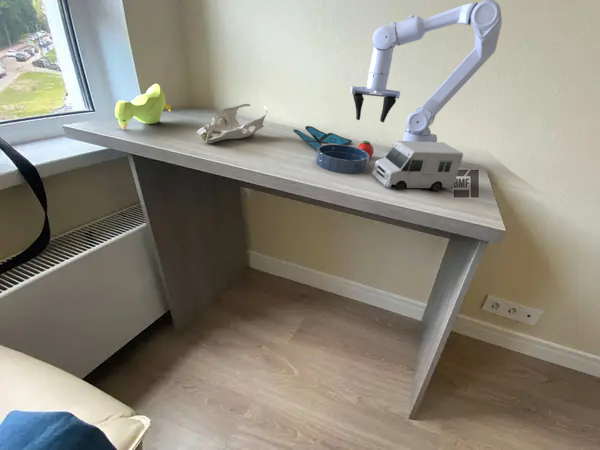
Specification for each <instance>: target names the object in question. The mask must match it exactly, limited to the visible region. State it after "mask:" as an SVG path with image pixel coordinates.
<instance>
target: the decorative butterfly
mask: <svg viewBox="0 0 600 450" xmlns="http://www.w3.org/2000/svg"><path fill="white" fill-rule="evenodd" d="M305 130H306V131H307V132H308V133H309V134H310V135H311V136H312V137H311V136H309V135H308V134H306V133H305V132H303V131H300V130H298V129H295V128H294V129H293V133H294V134H296V135H297V136H298V137H299V138H301V140H302V141H304V142H307V144H308V145H310V146H311V147H312V148H313V149H314V150H315V151H316V152H317V148H318V147H319V146H322V145H323V144H325V145H327V144H340V145H347V146H350V145H351V144H352V143H353V140H352V139H349V138H346V137H342V136H341V135H338V134H335V133H333V132H327V133H326V132H323V131H321V130H319V129H317V128H316V127H314V126H311V125H307V126H305Z"/></svg>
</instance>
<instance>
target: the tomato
mask: <svg viewBox="0 0 600 450" xmlns="http://www.w3.org/2000/svg"><path fill="white" fill-rule="evenodd" d="M356 148H359V149H362V150H364V151H366V152H367V153H368V154H369V159H371V158H372V157H373V155H374V153H375V152H374V147H373V144H371V141H368V140H363V141H362V142H360V143H359V144H358V145H357V147H356Z"/></svg>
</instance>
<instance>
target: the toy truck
mask: <svg viewBox="0 0 600 450" xmlns="http://www.w3.org/2000/svg"><path fill="white" fill-rule="evenodd" d="M463 156H464V152H462V151H460V150H458V149H456V148H454V147H453V146H450V145H449V144H447V143H445V142H444V141H443V142H441V141H440V142H439V141H437V142H416V141H403V140H397V141H395V143H393V145H392V147H391V148H390V150H389V151H388V152H387V153H386V155H385V156H384V157H382V158H379V159H377V160H375V164H374V168H373V170H372V173H371V174H372V175H373V176H374V177H375V178H376V179H377V180H378V181H379V182H380V183H381V184H382V185H383V186H384V187H386V188H391V187H392V185H394V186H393V188H394V189H395V190H397V191H403V190H404V189H405V188H406V189H430V190H431V191H432V192H438V191H439V190H440V189H441V188H450V189H454V186H455V183H456V180H457V177H458V173H459V170H460V166H461V163H462V161H463Z"/></svg>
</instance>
